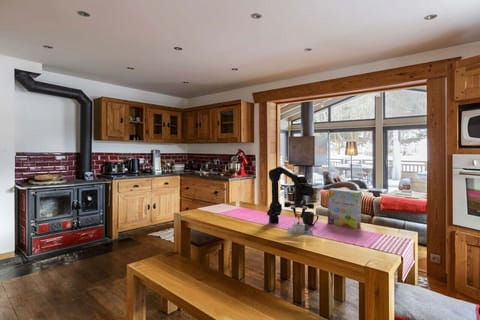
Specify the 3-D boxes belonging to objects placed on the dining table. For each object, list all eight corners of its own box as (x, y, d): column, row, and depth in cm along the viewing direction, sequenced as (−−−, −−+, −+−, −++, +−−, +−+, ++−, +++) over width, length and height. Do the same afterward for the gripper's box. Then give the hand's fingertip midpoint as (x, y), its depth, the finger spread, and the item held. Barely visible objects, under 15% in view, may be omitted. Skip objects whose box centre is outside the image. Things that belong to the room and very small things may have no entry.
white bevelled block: (292, 232, 173) (292, 224, 173) (292, 229, 180) (292, 221, 180) (308, 233, 171) (308, 225, 170) (307, 230, 178) (307, 222, 178)
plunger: (294, 226, 174) (294, 214, 173) (294, 224, 179) (294, 212, 178) (302, 227, 172) (302, 214, 172) (302, 225, 177) (302, 212, 177)
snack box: (326, 223, 199) (327, 189, 199) (331, 221, 206) (332, 188, 205) (357, 229, 186) (358, 192, 185) (361, 226, 192) (362, 190, 192)
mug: (314, 229, 184) (314, 215, 184) (299, 225, 193) (299, 212, 193) (320, 227, 190) (321, 213, 190) (305, 223, 199) (306, 210, 198)
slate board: (286, 234, 171) (287, 233, 171) (287, 229, 184) (287, 227, 184) (313, 236, 167) (313, 235, 167) (312, 230, 180) (312, 229, 180)
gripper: (283, 195, 169) (283, 220, 170) (314, 197, 165) (314, 222, 165) (284, 193, 180) (284, 216, 180) (313, 194, 176) (313, 218, 176)
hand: (298, 218), depth 175 cm, fingers closed on plunger, 3 cm apart
